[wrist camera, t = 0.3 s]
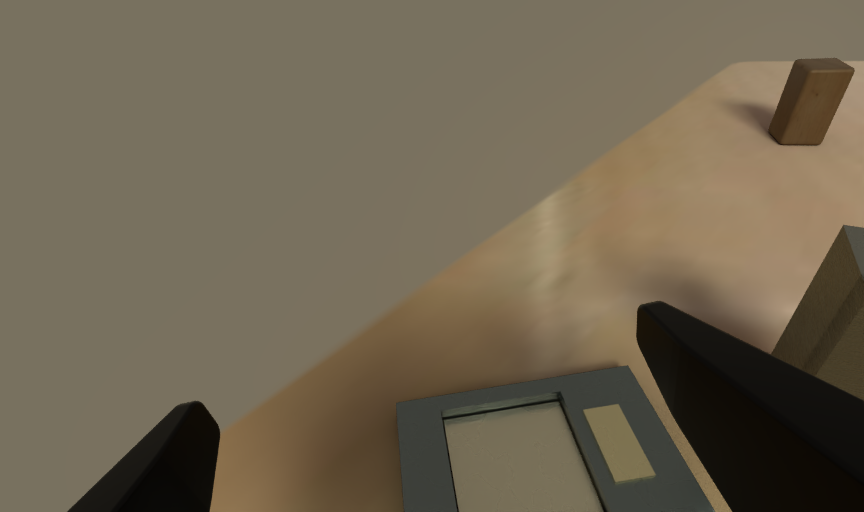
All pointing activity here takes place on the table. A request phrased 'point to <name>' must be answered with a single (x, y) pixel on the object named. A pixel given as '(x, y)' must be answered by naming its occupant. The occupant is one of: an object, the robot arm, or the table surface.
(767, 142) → the table surface
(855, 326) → the grey clip
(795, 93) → the wooden block
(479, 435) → the rail plate
